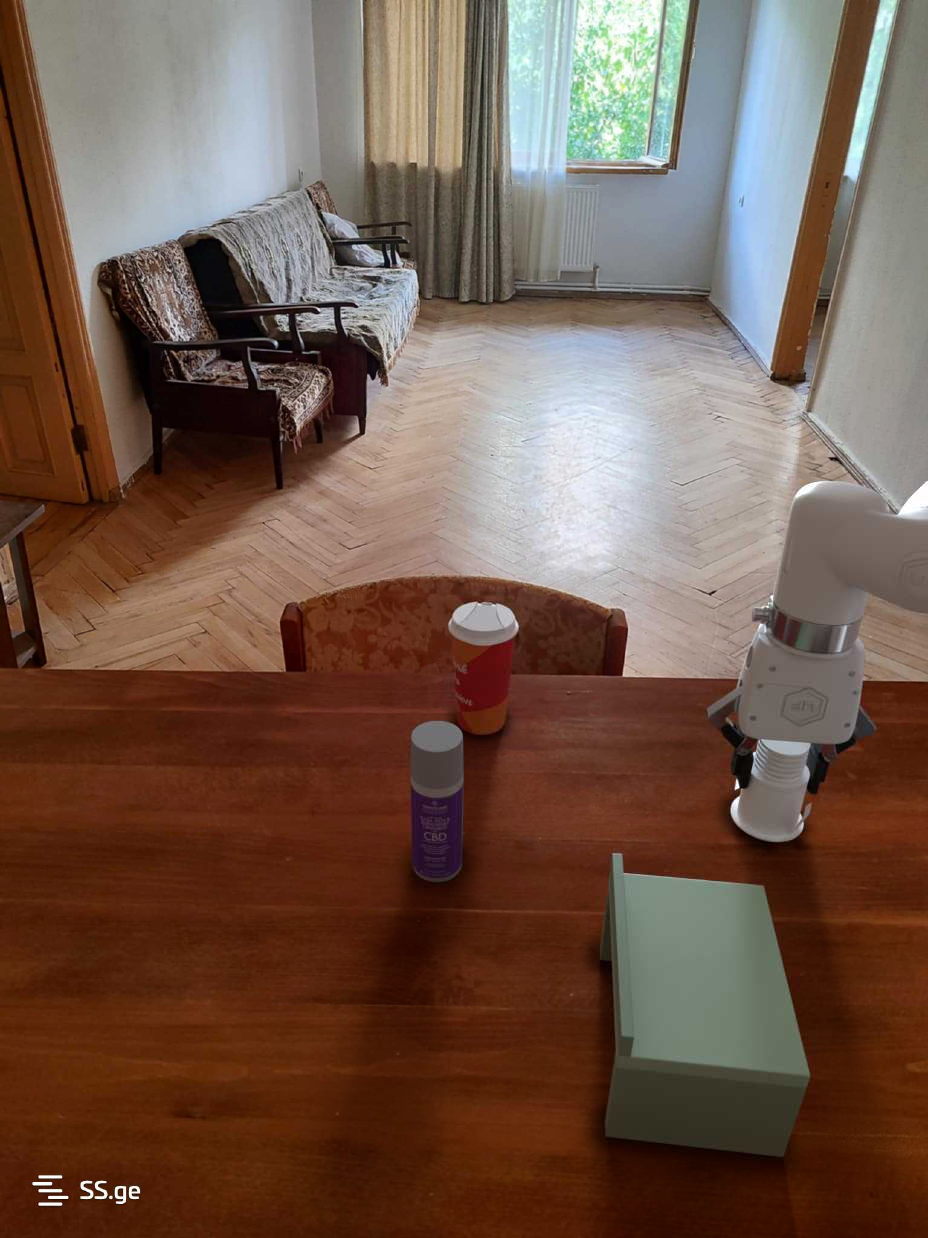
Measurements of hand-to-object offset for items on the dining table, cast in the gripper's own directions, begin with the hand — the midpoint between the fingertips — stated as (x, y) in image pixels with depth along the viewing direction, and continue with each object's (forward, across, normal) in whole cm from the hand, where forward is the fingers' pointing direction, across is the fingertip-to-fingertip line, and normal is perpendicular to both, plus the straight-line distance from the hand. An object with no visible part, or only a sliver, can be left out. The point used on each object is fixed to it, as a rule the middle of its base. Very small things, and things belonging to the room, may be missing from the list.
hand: (775, 781), depth 86 cm
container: (+5, -32, -10) cm, 34 cm away
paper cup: (+5, -30, +13) cm, 33 cm away
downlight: (+5, 0, 0) cm, 5 cm away
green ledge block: (+5, -11, -26) cm, 29 cm away
